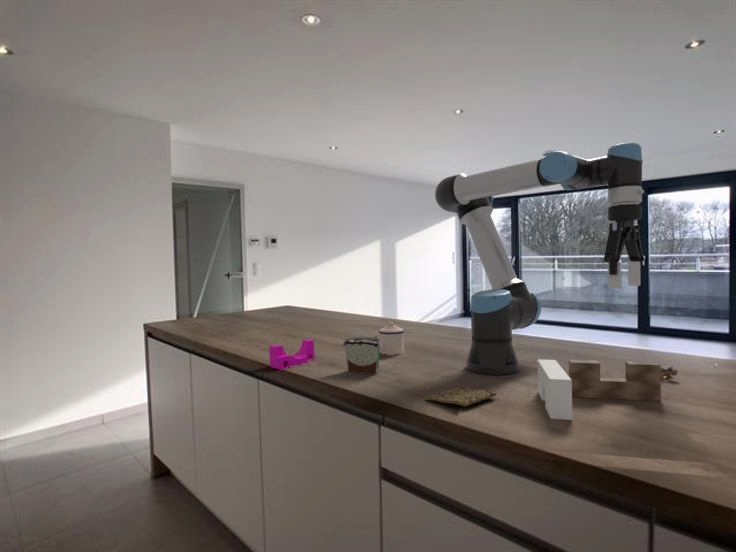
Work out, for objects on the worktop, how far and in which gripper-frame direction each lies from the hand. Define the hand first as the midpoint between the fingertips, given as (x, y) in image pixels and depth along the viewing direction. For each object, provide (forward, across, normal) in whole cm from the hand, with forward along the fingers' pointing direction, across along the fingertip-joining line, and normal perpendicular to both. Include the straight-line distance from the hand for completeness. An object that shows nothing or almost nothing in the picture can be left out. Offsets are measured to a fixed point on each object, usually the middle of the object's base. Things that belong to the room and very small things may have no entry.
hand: (624, 287), depth 108 cm
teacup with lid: (+26, -20, +70) cm, 77 cm away
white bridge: (+24, -32, +4) cm, 40 cm away
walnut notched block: (+24, -17, -3) cm, 30 cm away
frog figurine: (+25, +8, -4) cm, 27 cm away
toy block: (+26, -53, +80) cm, 99 cm away
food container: (+26, -41, +57) cm, 75 cm away
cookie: (+25, -42, +20) cm, 54 cm away
